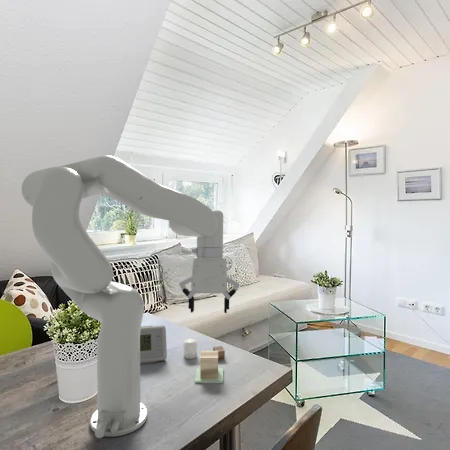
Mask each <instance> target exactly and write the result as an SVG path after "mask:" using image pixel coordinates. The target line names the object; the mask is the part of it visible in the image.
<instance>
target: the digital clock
mask: <svg viewBox="0 0 450 450" xmlns="http://www.w3.org/2000/svg"><path fill="white" fill-rule="evenodd" d="M167 348H168V347H167V330H166V326H165V325H145V326H141V331H140V365H143V364H144V365H145V364H152V363H156V362H163V361H166V360H167V357H168V355H167V354H168V351H167Z"/></svg>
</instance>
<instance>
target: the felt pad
mask: <svg viewBox="0 0 450 450" xmlns="http://www.w3.org/2000/svg"><path fill="white" fill-rule="evenodd" d="M194 384H224V368H223V367H218V379H200V367H197V368H196V371H195V378H194Z"/></svg>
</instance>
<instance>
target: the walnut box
mask: <svg viewBox="0 0 450 450" xmlns="http://www.w3.org/2000/svg"><path fill="white" fill-rule="evenodd" d="M212 351H218V361H223V360H224V359H225V358H226V350H225V349H224V347H223V346H222V345H220V346H219V345H217V346H213V347H212Z"/></svg>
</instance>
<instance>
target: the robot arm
mask: <svg viewBox="0 0 450 450" xmlns="http://www.w3.org/2000/svg"><path fill="white" fill-rule="evenodd" d="M21 194H22V196H23V197H22V198H23V199H24V201H26V203H27V204H29V205H30V206H31V207H32V210H31V223H32V224H31V226H32V227H31V228H32V231H33V235H34V238H35V239H36V241H37V243H38V244H39V246H40V247H41V250H43V252H44V253H45V254H46V255H47V256H48V258H49V259H50V260H51V267H50V271H51V275H52V278H53V280H54V282H56V284H57V285H58V286H59V288H60V289H61V290H62V291H63V292H64V293H65V294H66V296H68V297H69V298H70V299H71V301H72V302H73V303H74V305H76V306H77V307H78V308H79V309H80V310H81V311H82V312H83V313H84V314H85V315H87V316H89V317H90V318H92V319H93V320H96V321H98V322H99V323H100V330H99V332H98V336H97V342H96V375H97V376H96V377H97V378H96V380H97V381H96V382H97V383H96V387H97V389H96V390H97V392H96V393H97V395H96V396H97V400H96V401H97V409H96V410H95V411H94V412H93V413H92V415H91V416H90V421H89V423H90V425H89V427H90V429H91V430H92V431H93V432H94V435H95V437H96V438H97V439H101V438H103V437H111V438H112V437H114V438H115V437H120V436H125V435H128V434H130V433H133V432H134V431H137V430H138V429H139V428H141V427H142V426H143V425H144V424H145V423H146V421H147V420H148V419H147V418H148V409H147V407H146V406H145V405H144V404H143V403H142V402H141V364H140V331H141V327H142V322H143V317H144V313H145V312H144V311H145V305H144V300H143V298H142V295H141V294H140V293H139V291H137V290H136V289H135V288H134V287H132V286H129V285H126V284H124V283H120V282H116V281H113V279H114V270H113V266H112V264H111V262H110V260H109V259H108V258H107V257H106V255H105V254H104V253H103V251H101V249H100V248H99V246H98V245H97V244H96V243H95V241H94V240H93V238H91V236H90V235H89V234H88V232H87V230H86V229H85V228H84V226H83V224H82V223H81V219H80V218H81V217H80V207H81V204H82V203H81V202H82V201H83V200H84V199H87V198H89V197H93V196H96V195H104V196H106V197H108V198H111V199H112V200H114V201H116V202H118V203H120V204H122V205H123V206H126V207H128V208H129V209H131V210H133V211H135V212H137V213H139V214H140V215H144V216H146V217H149V218H153V219H157V220H158V219H159V220H165V221H168V222H169V228H170V230H171V231H172V232H173V233H175V234H176V235H179V236H183V237H193V238H194V237H196V247H194V248H191V254H195V255H196V256H195V257H193V261H192V267H191V268H192V269H191V276H190V277H187V278H186V279H183V280H181V281H179V283H178V285H179V287H180V289H181V291H182V293H183V294H184V295H185V296H186V298H187V299H188V309H189V310H190V313H194V312H195V296H194V295H195V294H222V295H223V296H224V303H223V304H224V308H223V312H224V314H227V313H228V310H230V299H231V298H232V297H233V296H234V295H235V294H236V293H237V291H238V289H239V287H240V283H239V282H238V281H236V280H234V279H232V278H230V277H229V276H228V269H227V268H228V267H227V261H226V257H224V255H223V253H224V213H223V212H222V211H221V210H217V209H211V207H209V206H207V205H206V204H205V203H202V202H201V201H200V200H198V199H196V198H195V197H192V196H190V195H188V194H185V193H183V192H180V191H179V190H176V189H173V188H170V187H167V186H165V185H162V184H160V183H158V182H157V181H155V180H153V179H152V178H150V177H149V176H146V175H145V174H144V173H142V172H141V171H140V170H137V169H135V167H133V166H131V165H130V164H128V163H127V162H125V161H123V160H122V159H120V158H118V157H115V156H113V155H101V156H96V157H92V158H88V159H84V160H83V159H82V160H80V161H76V162H73V163H69V164H64V165H58V166H52V167H48V168H43V169H39V170H38V169H37V170H35V171H32V172H31V173H29V174H28V175H27V176H25V178H24V179H23V181H22V184H21ZM189 283H190V289H191V290H189V288H187V286H186V285H187V284H189ZM228 284H230V286H231V285H232V286H233V287H232V289H230V290H229V291H228V290H227V288H228Z"/></svg>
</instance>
